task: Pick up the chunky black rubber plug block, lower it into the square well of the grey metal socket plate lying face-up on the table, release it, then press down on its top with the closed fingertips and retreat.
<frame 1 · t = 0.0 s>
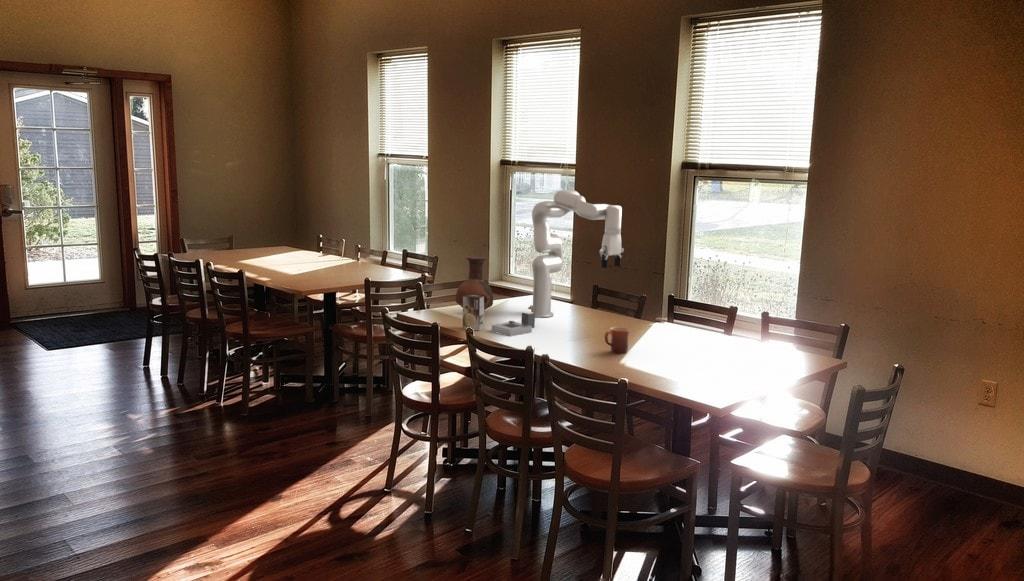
hand: (610, 267, 380), 31 cm above the table, fingers open, 9 cm apart
plug: (527, 327, 388), on the table
coffee box: (473, 329, 381), on the table
vase: (474, 314, 417), on the table
socket plate: (511, 331, 377), on the table
mug: (615, 352, 343), on the table
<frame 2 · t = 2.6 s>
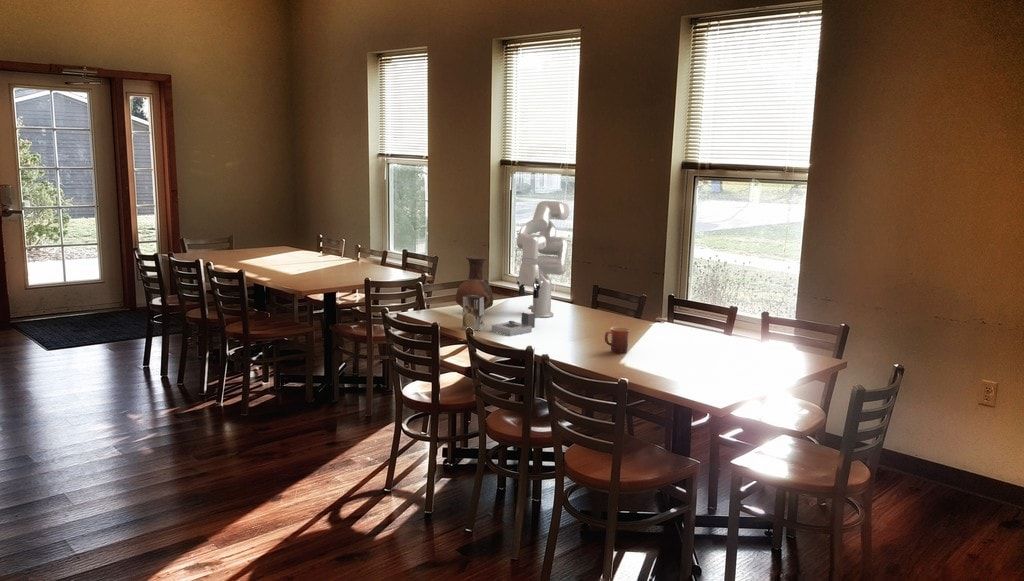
hand: (528, 296, 385), 15 cm above the table, fingers open, 9 cm apart
nothing on the table moved.
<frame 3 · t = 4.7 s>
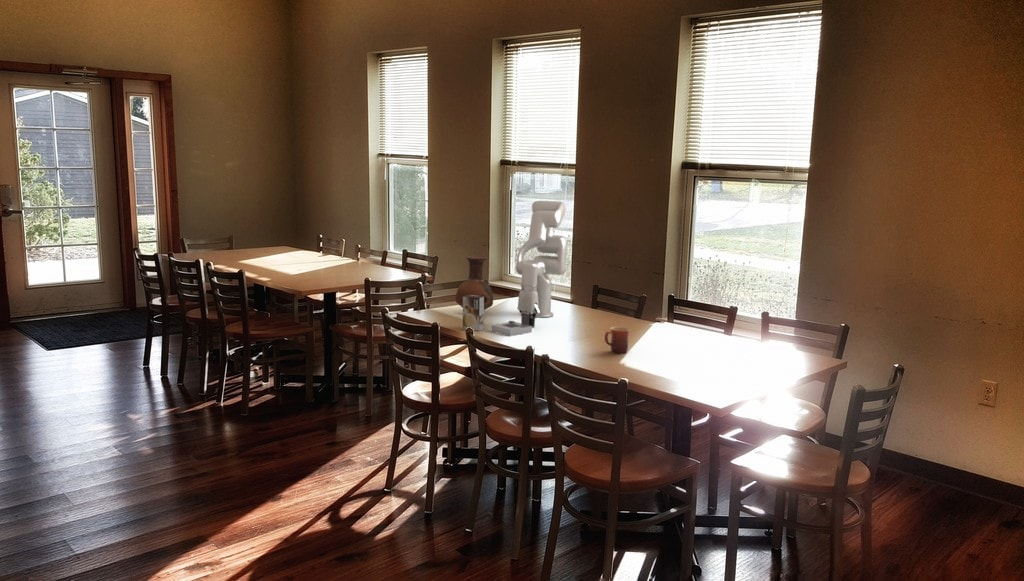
hand: (527, 324, 388), 1 cm above the table, fingers closed on plug, 4 cm apart
plug: (527, 327, 388), on the table, touching gripper
everything else where it was.
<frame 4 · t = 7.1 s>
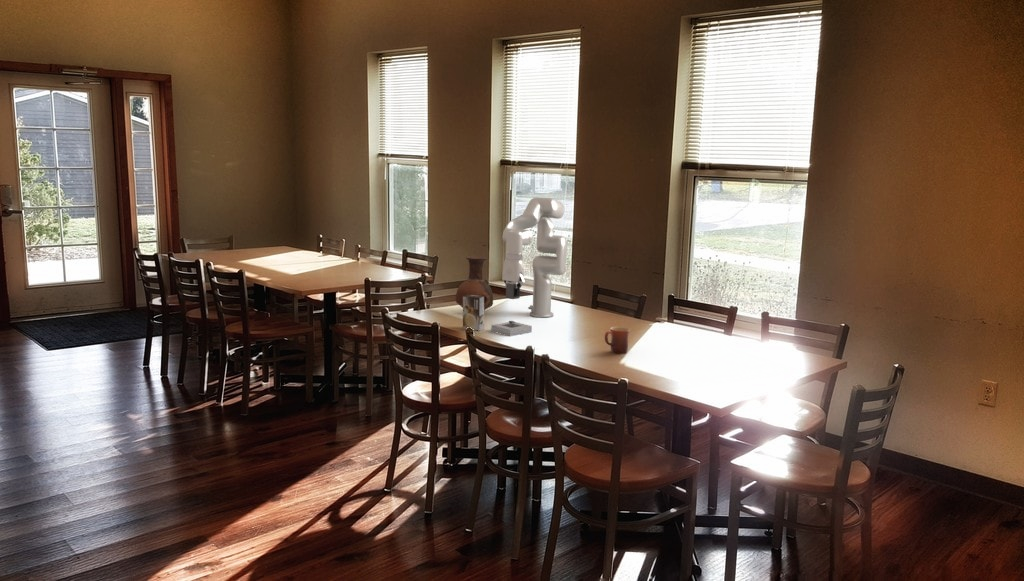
hand: (512, 295, 374), 18 cm above the table, fingers closed on plug, 4 cm apart
plug: (512, 298, 375), point 16 cm above the table, touching gripper
everything else where it was.
when the fingers open (3 cm above the table, at t = 9.5 s): plug drops 2 cm, resting in socket plate.
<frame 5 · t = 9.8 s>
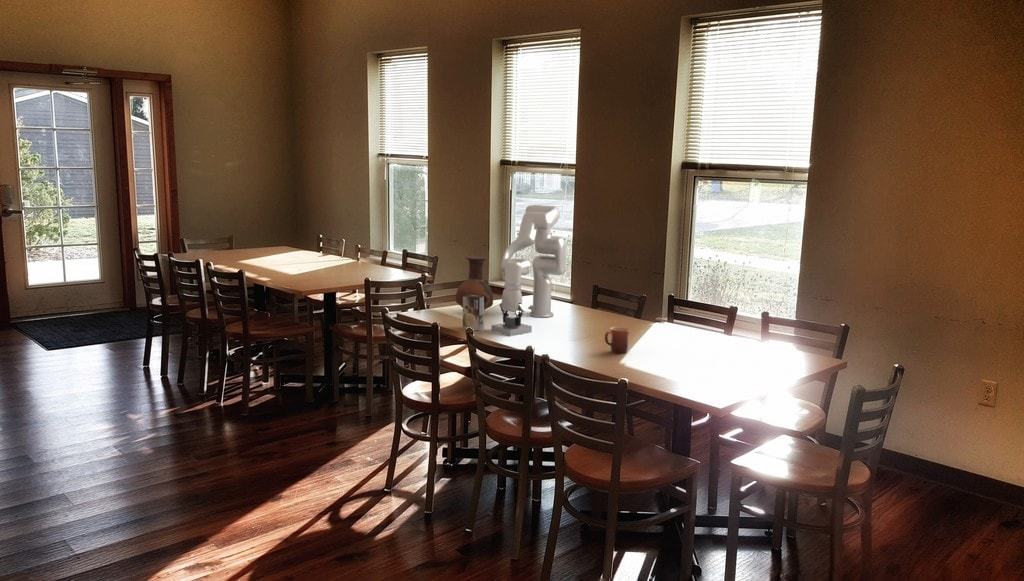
hand: (511, 323, 377), 4 cm above the table, fingers open, 7 cm apart
plug: (511, 331, 377), resting in socket plate
everything else where it was.
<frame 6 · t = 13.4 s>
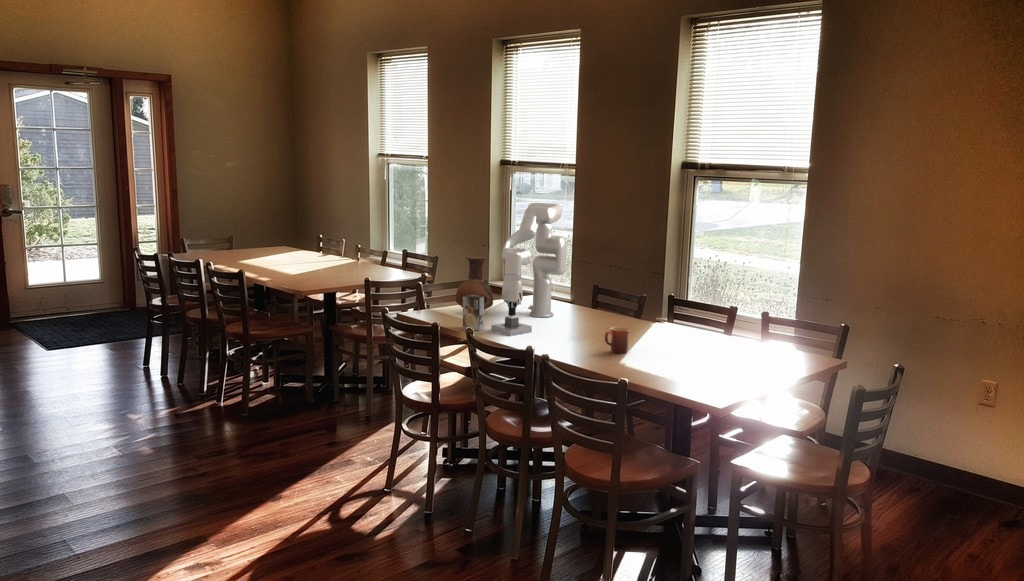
hand: (511, 315, 376), 8 cm above the table, fingers closed
nothing on the table moved.
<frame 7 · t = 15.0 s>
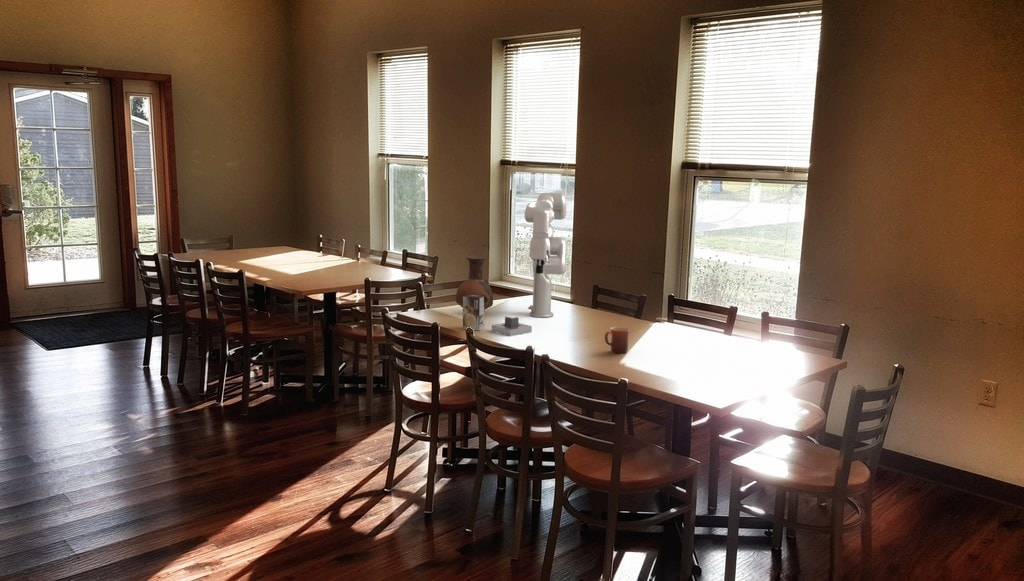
hand: (539, 273, 382), 27 cm above the table, fingers closed
nothing on the table moved.
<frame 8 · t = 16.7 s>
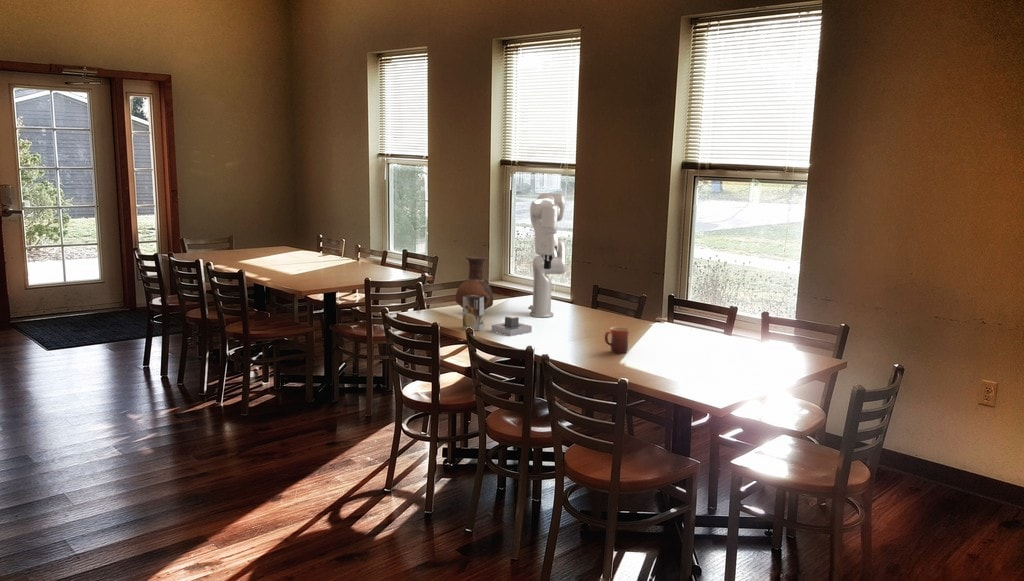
hand: (547, 268, 383), 29 cm above the table, fingers closed
nothing on the table moved.
at the end: plug 0.1 cm off-centre on the socket plate, point 0.0 cm above the socket plate's base; plug tilted 0°; the gripper is holding nothing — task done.
